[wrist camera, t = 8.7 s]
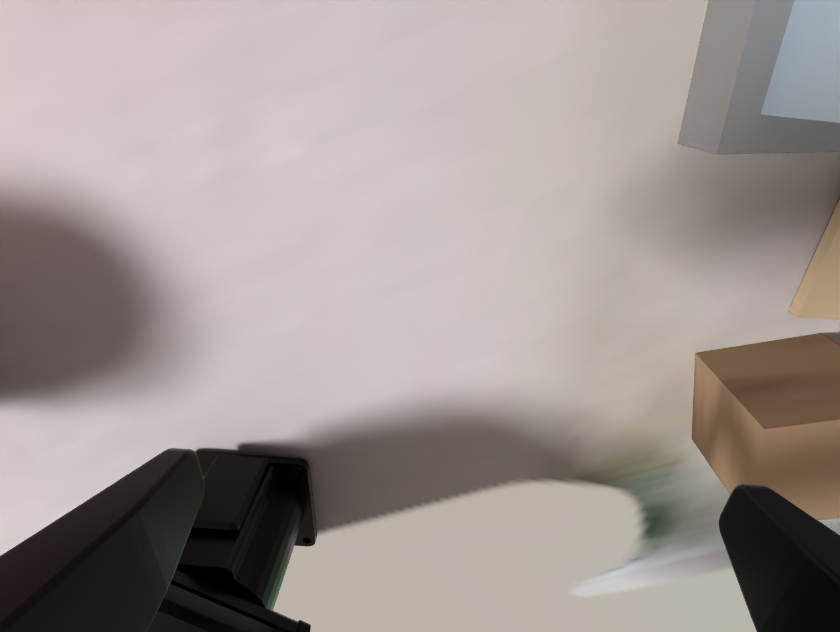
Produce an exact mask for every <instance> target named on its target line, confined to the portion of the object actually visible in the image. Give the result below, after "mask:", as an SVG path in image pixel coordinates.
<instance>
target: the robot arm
mask: <svg viewBox="0 0 840 632" xmlns="http://www.w3.org/2000/svg"><path fill="white" fill-rule="evenodd" d="M297 467H298V468H297ZM299 468H300V469H299ZM719 528H720V533H721V536H722V539H723V541H724V544H725V547H726V550H727V552H728V555H729V558H730V561H731V563H732V566H733V569H734V572H735V574H736V577H737V580H738V582H739V585H740V588H741V591H742V594H743V596H744V599H745V602H746V605H747V607H748V610H749V612H750V615H751V618H752V621H753V623H754V626H755V628H756V630H757V632H840V535H838V534H837V533H835V532H834V531H832V530H831V529H829V528H828V527H827V526H825V525H824V524H822V523H821V522H819V521H818V520H816V519H815V518H813V517H812V516H810V515H809V514H807V513H806V512H804V511H803V510H802V509H800V508H799V507H797V506H796V505H794V504H793V503H791V502H790V501H788V500H787V499H785V498H784V497H782V496H781V495H780V494H778V493H777V492H775V491H774V490H772V489H770V488H769V487H766V486H763V485H751V484H739V485H737V486H736V487H735V488H734V489H733V491H732V493H731V495H730V497H729V499H728V501H727V503H726V505H725V507H724V509H723V511H722V513H721V515H720V519H719ZM316 538H317V530H316V521H315V512H314V503H313V494H312V485H311V476H310V467H309V464H308V462H307V461H306V460H304V459H300V458H286V457H271V456H255V455H239V454H223V453H207V452H195V451H194V450H191V449H177V448H171V449H168V450H166V451H164V452H162V453H161V454H159V455H157V456H156V457H154V458H153V459H151V460H150V461H148V462H147V463H145V464H143V465H142V466H140V467H139V468H137V469H136V470H134V471H132V472H131V473H129V474H128V475H126V476H125V477H123V478H122V479H120V480H118V481H117V482H115V483H114V484H112V485H111V486H109V487H107V488H106V489H104V490H103V491H101V492H100V493H98V494H97V495H95V496H93V497H92V498H90V499H89V500H87V501H86V502H84V503H83V504H81V505H79V506H78V507H76V508H75V509H73V510H72V511H70V512H68V513H67V514H65V515H64V516H62V517H61V518H59V519H58V520H56V521H54V522H53V523H51V524H50V525H48V526H47V527H45V528H43V529H42V530H40V531H39V532H37V533H36V534H34V535H33V536H31V537H29V538H28V539H26V540H25V541H23V542H22V543H20V544H18V545H17V546H15V547H14V548H12V549H11V550H9V551H8V552H6V553H4V554H3V555H1V556H0V632H310V627H311V626H310V624H308V623H305V622H303V621H301V620H299V621H298V622H297V621H295V620H292V619H290V618H288V617H286V616H284V615H281V614H279V613H277V612H274V611H273V608H274V605H275V602H276V599H277V596H278V593H279V590H280V587H281V584H282V581H283V578H284V575H285V572H286V569H287V566H288V563H289V560H290V557H291V554H292V551H293V547H294V545H296V546H312V545H314V544H315V541H316Z"/></svg>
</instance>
